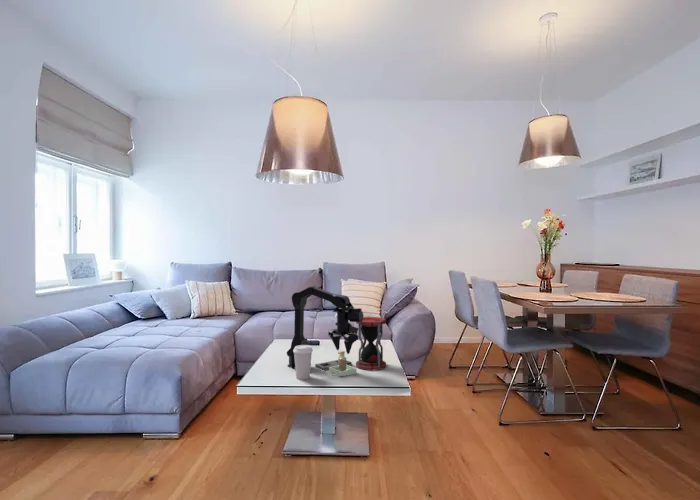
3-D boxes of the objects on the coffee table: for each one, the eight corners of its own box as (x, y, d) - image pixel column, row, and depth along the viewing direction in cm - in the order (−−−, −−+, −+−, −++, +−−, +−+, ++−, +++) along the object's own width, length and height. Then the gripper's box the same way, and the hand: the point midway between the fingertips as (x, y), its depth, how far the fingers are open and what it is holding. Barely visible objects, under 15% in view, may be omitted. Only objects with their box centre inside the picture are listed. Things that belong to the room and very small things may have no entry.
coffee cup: (296, 381, 194) (296, 350, 194) (290, 376, 203) (290, 345, 203) (315, 379, 198) (315, 348, 198) (309, 373, 207) (309, 343, 207)
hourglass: (367, 372, 209) (366, 323, 209) (350, 364, 223) (349, 318, 222) (392, 367, 217) (392, 319, 217) (374, 360, 231) (374, 315, 231)
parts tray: (340, 377, 201) (340, 371, 201) (328, 372, 209) (328, 367, 209) (356, 373, 207) (356, 368, 207) (345, 368, 215) (345, 363, 215)
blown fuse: (341, 373, 206) (341, 359, 206) (337, 371, 209) (337, 357, 209) (347, 371, 208) (347, 358, 208) (343, 370, 211) (343, 356, 211)
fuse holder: (323, 370, 212) (323, 367, 212) (315, 366, 218) (315, 364, 218) (351, 364, 222) (351, 362, 222) (343, 361, 229) (343, 358, 229)
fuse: (340, 365, 221) (340, 352, 221) (336, 364, 224) (336, 351, 224) (346, 364, 223) (345, 351, 223) (342, 362, 226) (342, 350, 226)
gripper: (366, 321, 205) (366, 353, 205) (345, 316, 220) (345, 346, 220) (348, 324, 199) (348, 356, 199) (327, 319, 214) (327, 349, 214)
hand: (342, 351), depth 208 cm, fingers open, 9 cm apart
